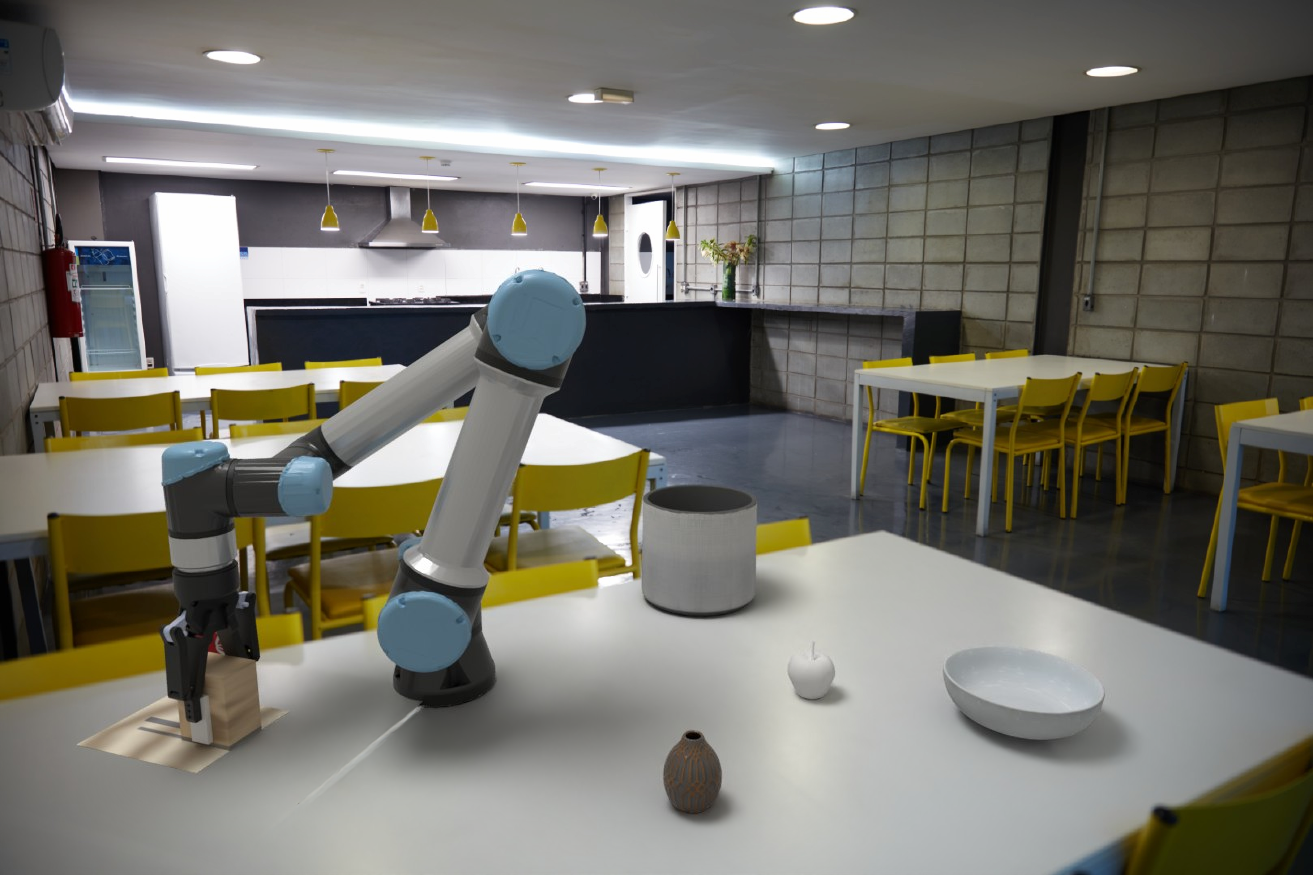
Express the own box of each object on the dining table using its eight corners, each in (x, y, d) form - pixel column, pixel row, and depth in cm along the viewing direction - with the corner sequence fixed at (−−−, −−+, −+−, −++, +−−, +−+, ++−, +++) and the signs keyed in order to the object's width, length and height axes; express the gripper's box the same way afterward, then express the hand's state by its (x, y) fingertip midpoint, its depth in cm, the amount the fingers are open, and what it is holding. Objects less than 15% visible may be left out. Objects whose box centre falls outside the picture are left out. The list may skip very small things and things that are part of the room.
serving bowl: (1088, 698, 127) (1092, 654, 125) (1112, 774, 107) (1117, 724, 106) (940, 676, 133) (943, 635, 132) (938, 744, 114) (941, 697, 113)
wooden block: (261, 729, 115) (255, 660, 113) (229, 750, 110) (222, 678, 108) (215, 719, 117) (208, 651, 115) (181, 739, 112) (173, 669, 110)
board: (290, 717, 120) (289, 711, 120) (197, 780, 105) (196, 772, 105) (179, 695, 126) (179, 688, 126) (77, 751, 111) (76, 744, 111)
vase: (660, 786, 104) (661, 720, 102) (716, 784, 105) (717, 718, 103) (665, 822, 97) (666, 752, 96) (725, 819, 98) (727, 749, 96)
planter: (774, 591, 169) (777, 493, 165) (721, 629, 151) (723, 520, 147) (678, 570, 181) (679, 478, 177) (619, 603, 162) (618, 501, 158)
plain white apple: (839, 687, 129) (841, 638, 128) (827, 708, 123) (830, 657, 122) (794, 678, 132) (796, 630, 131) (780, 698, 126) (782, 648, 124)
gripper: (237, 539, 119) (251, 693, 123) (117, 583, 101) (138, 761, 106) (281, 544, 116) (294, 701, 121) (166, 591, 99) (185, 772, 103)
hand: (221, 728), depth 113 cm, fingers closed on wooden block, 5 cm apart
